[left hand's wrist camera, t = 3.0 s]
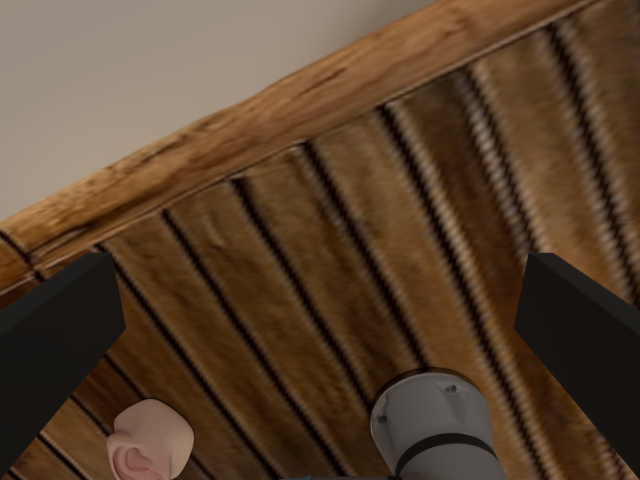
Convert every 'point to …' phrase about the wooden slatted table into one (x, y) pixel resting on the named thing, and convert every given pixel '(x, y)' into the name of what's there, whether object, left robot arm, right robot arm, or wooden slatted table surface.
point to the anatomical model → (149, 442)
